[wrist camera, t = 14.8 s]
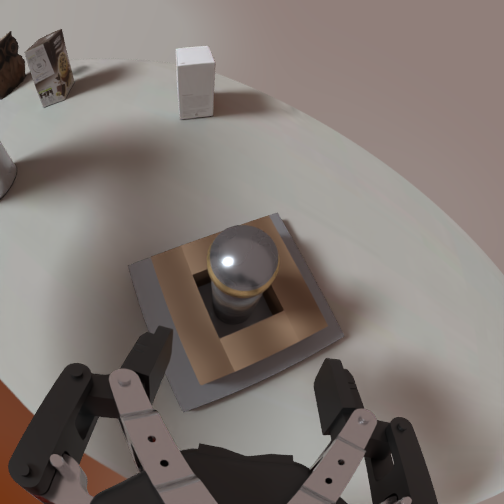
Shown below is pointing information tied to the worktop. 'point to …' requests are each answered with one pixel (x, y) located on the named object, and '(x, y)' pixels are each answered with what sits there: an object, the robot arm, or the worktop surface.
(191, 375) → the base
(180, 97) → the small box
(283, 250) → the socket block
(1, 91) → the owl
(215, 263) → the gold-rimmed metal cylinder
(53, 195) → the worktop surface
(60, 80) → the coffee box
